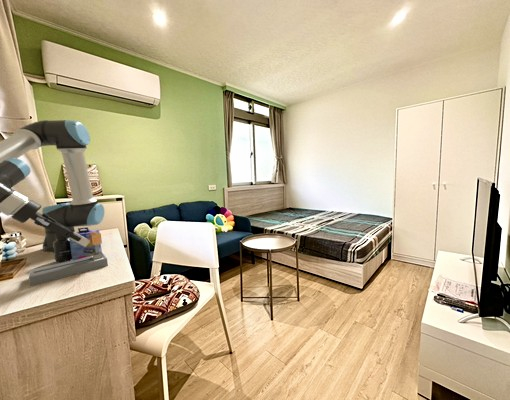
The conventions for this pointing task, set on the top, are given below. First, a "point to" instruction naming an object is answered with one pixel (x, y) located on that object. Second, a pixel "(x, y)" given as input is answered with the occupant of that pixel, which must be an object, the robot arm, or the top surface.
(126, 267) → the top surface
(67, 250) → the supplement bottle
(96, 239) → the fader
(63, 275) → the fader console
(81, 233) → the ink cartridge box
